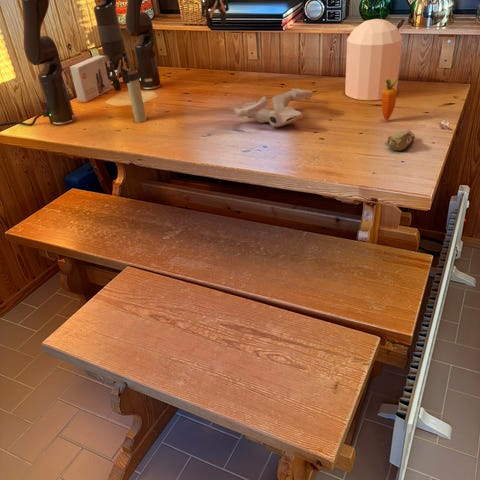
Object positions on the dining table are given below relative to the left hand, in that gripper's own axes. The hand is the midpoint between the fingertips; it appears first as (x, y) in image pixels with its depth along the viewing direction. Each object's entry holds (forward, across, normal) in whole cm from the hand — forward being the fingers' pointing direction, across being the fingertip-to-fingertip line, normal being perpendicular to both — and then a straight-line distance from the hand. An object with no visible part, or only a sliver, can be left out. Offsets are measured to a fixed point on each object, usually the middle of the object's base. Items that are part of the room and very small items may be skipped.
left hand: (122, 86), depth 164 cm
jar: (+18, -16, -3) cm, 24 cm away
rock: (+19, +12, +96) cm, 98 cm away
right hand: (-11, -41, +28) cm, 50 cm away
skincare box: (+18, -51, -38) cm, 66 cm away
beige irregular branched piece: (+18, -8, +55) cm, 58 cm away
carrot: (+18, -9, +93) cm, 95 cm away
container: (+18, -42, +90) cm, 101 cm away
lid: (0, -16, -3) cm, 16 cm away
